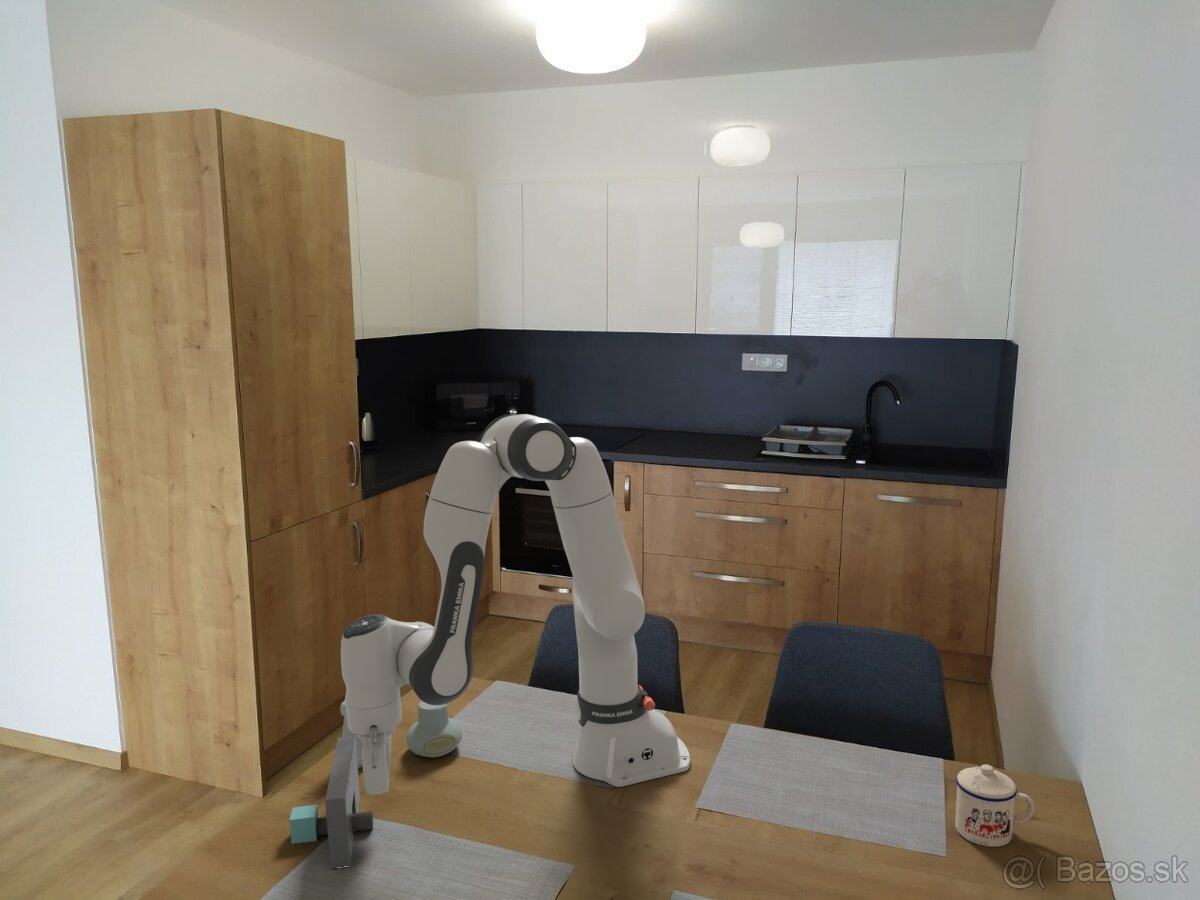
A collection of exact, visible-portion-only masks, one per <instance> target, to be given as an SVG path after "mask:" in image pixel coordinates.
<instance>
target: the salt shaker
mask: <svg viewBox="0 0 1200 900" xmlns="http://www.w3.org/2000/svg"><path fill="white" fill-rule="evenodd" d="M339 710H340V714H341V716H342V717H344V718H343V726H342V734H341V737H347V736H355V738H356V752H357V765H358V769H362V768H363V763H362V748H363V740H361V739H359V738H358V737H357V734H354V733H352V732H351V731H350V730H349V729H348V722H347V713H346V704H345V700H344V701H342V702H341V704H340V709H339ZM361 767H362V768H361Z"/></svg>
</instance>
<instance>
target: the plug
mask: <svg viewBox="0 0 1200 900" xmlns="http://www.w3.org/2000/svg"><path fill="white" fill-rule="evenodd" d="M352 816H353V829H354V832H358V831H367V830H372V829H374V812H373V810H370V811H363V812H358V813H353V814H352ZM288 821H289V830H290V831H289V833H290V843H291V845H296V844H295V843H297V844H304V843H310V842H317V841H318V837H320V836H328V828H327V816H324V817H321V816H320V817H319V809H318V804H312V805H311V804H310V805H304V806H303V805H302V806H296V807H295V806H293V807H292V809H291V812H290V815H289V819H288ZM303 842H304V843H303Z"/></svg>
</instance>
